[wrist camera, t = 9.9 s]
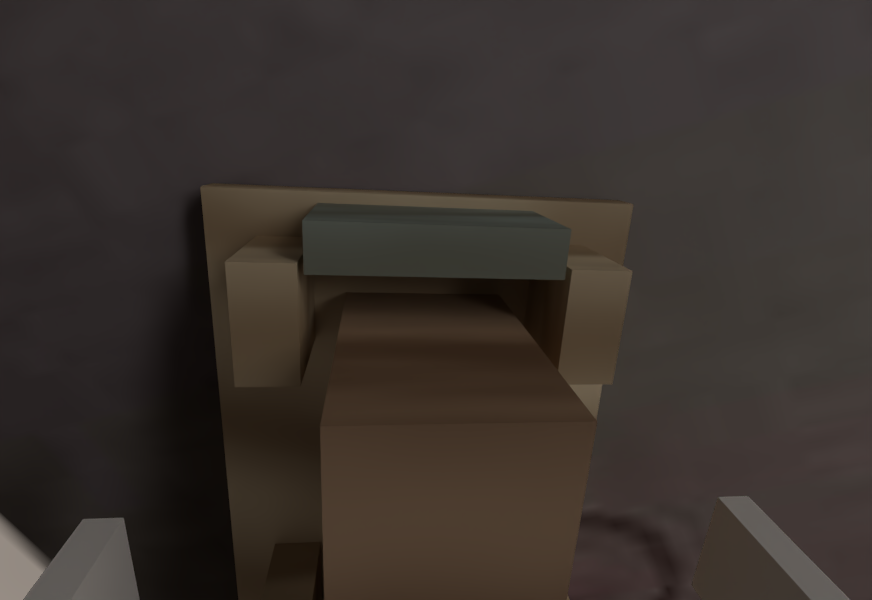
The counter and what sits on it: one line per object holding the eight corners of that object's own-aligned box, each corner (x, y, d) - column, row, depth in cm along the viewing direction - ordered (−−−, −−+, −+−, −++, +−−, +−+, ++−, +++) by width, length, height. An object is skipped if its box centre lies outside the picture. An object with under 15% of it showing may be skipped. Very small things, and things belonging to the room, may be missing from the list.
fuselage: (346, 292, 14) (309, 477, 7) (498, 294, 15) (632, 467, 7) (347, 587, 18) (324, 939, 10) (471, 580, 18) (542, 907, 10)
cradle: (212, 183, 14) (150, 200, 10) (617, 200, 15) (695, 220, 12) (248, 614, 19) (216, 734, 15) (553, 595, 20) (593, 701, 16)
